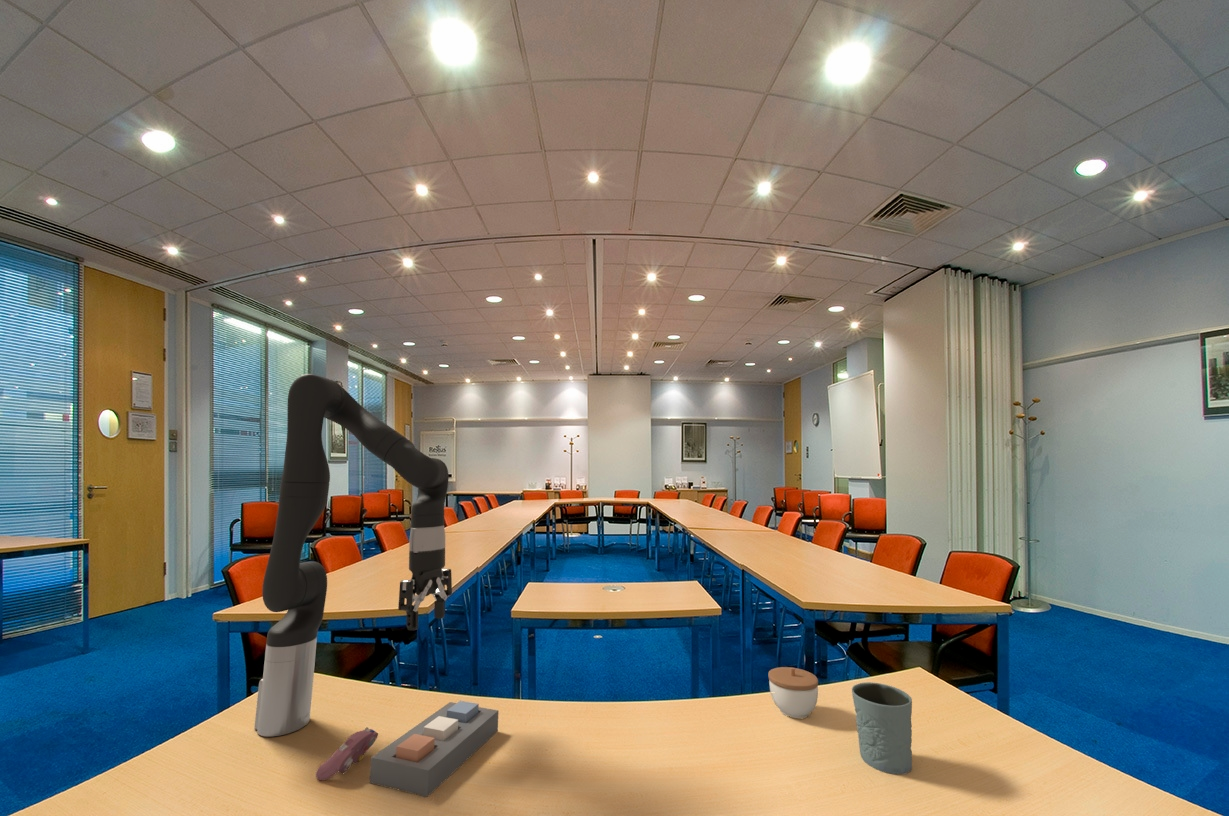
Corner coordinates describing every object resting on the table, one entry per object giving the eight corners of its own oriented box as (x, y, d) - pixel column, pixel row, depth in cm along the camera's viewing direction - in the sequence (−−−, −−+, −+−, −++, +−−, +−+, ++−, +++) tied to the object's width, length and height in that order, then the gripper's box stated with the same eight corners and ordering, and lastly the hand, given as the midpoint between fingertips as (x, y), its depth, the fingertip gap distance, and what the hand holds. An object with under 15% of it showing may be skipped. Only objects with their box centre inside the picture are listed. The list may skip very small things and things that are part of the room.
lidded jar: (762, 702, 114) (760, 660, 115) (804, 700, 115) (803, 658, 117) (782, 725, 104) (780, 678, 105) (829, 722, 105) (827, 676, 106)
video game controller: (330, 794, 83) (349, 756, 83) (310, 778, 84) (329, 741, 84) (369, 761, 92) (386, 727, 92) (352, 747, 93) (368, 714, 94)
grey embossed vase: (909, 752, 94) (905, 686, 95) (924, 783, 84) (918, 709, 86) (852, 742, 97) (848, 679, 99) (859, 771, 87) (855, 700, 89)
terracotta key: (395, 762, 84) (396, 746, 85) (413, 748, 88) (414, 733, 89) (416, 766, 83) (417, 751, 83) (434, 752, 87) (434, 737, 87)
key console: (369, 782, 83) (371, 757, 84) (449, 721, 104) (450, 702, 105) (427, 796, 80) (428, 770, 80) (497, 731, 100) (498, 710, 101)
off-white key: (422, 741, 91) (423, 727, 91) (438, 729, 95) (438, 716, 95) (442, 745, 89) (443, 731, 90) (457, 733, 94) (458, 719, 94)
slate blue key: (446, 723, 97) (446, 710, 98) (459, 713, 102) (460, 700, 102) (465, 727, 96) (465, 713, 96) (478, 716, 100) (478, 703, 101)
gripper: (434, 543, 115) (434, 614, 113) (389, 552, 102) (387, 633, 99) (461, 542, 113) (461, 615, 110) (418, 552, 99) (417, 635, 97)
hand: (426, 623), depth 105 cm, fingers open, 8 cm apart
